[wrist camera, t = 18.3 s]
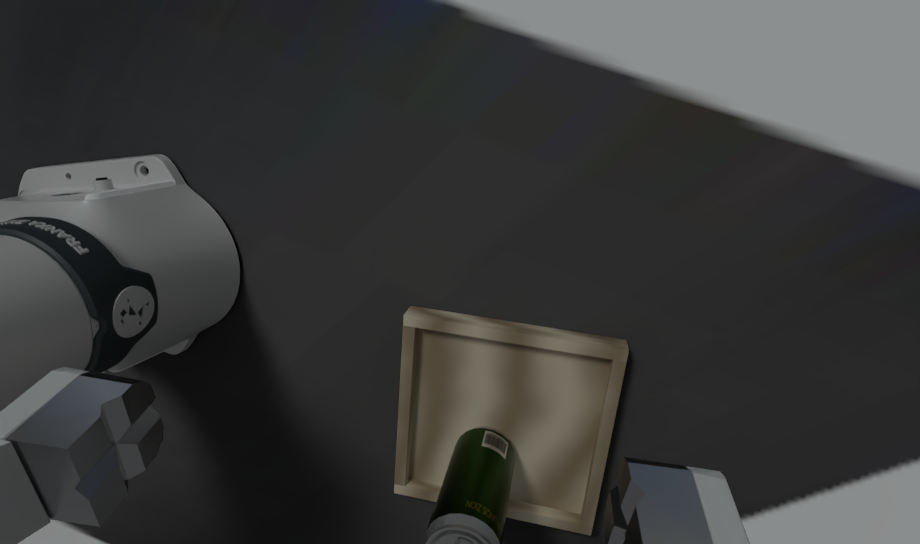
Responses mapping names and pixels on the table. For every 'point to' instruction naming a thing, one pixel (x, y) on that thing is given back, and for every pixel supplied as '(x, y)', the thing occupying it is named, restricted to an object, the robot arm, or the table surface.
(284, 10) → the table surface
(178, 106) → the table surface
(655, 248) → the table surface
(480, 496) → the beer can
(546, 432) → the birch tray
